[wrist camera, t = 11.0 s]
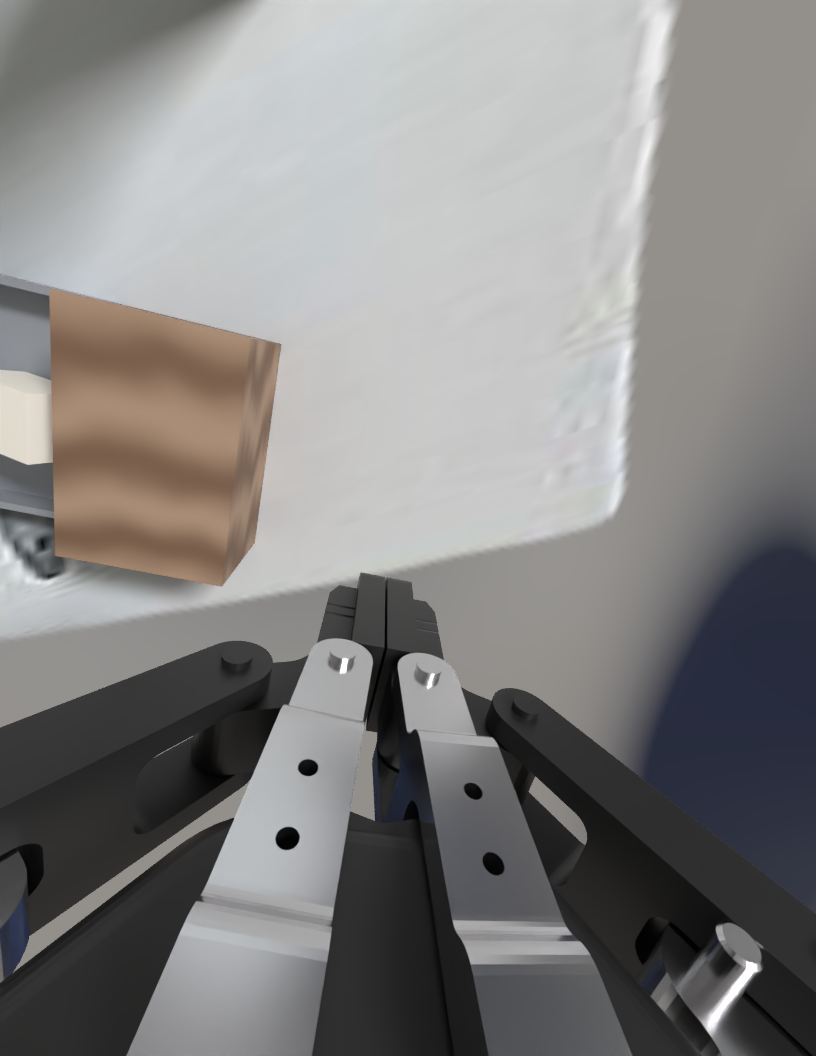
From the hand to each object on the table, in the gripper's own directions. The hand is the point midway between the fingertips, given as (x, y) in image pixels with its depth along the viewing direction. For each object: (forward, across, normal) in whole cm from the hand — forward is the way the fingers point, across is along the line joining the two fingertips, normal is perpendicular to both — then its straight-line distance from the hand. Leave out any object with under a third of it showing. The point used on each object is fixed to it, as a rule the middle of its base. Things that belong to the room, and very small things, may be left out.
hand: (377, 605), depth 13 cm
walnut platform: (+29, +16, +3) cm, 33 cm away
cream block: (+23, +24, +3) cm, 33 cm away
